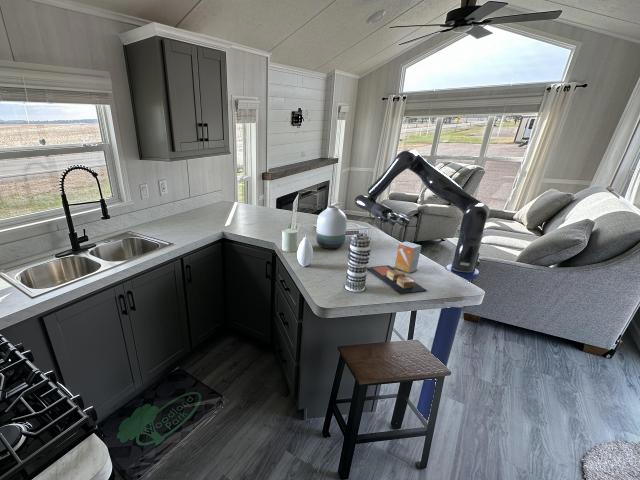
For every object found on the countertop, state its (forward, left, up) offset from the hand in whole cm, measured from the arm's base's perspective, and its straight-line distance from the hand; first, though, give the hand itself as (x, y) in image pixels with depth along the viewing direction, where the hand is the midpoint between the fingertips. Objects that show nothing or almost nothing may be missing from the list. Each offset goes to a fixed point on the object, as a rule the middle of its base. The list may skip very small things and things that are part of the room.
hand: (401, 223), depth 163 cm
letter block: (+12, +25, -21) cm, 35 cm away
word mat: (+12, +17, -21) cm, 30 cm away
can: (+47, -34, -22) cm, 62 cm away
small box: (0, +8, -22) cm, 23 cm away
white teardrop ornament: (+47, -8, -22) cm, 52 cm away
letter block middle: (+12, +17, -21) cm, 29 cm away
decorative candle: (+34, +21, -22) cm, 45 cm away
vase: (+22, -33, -22) cm, 45 cm away
